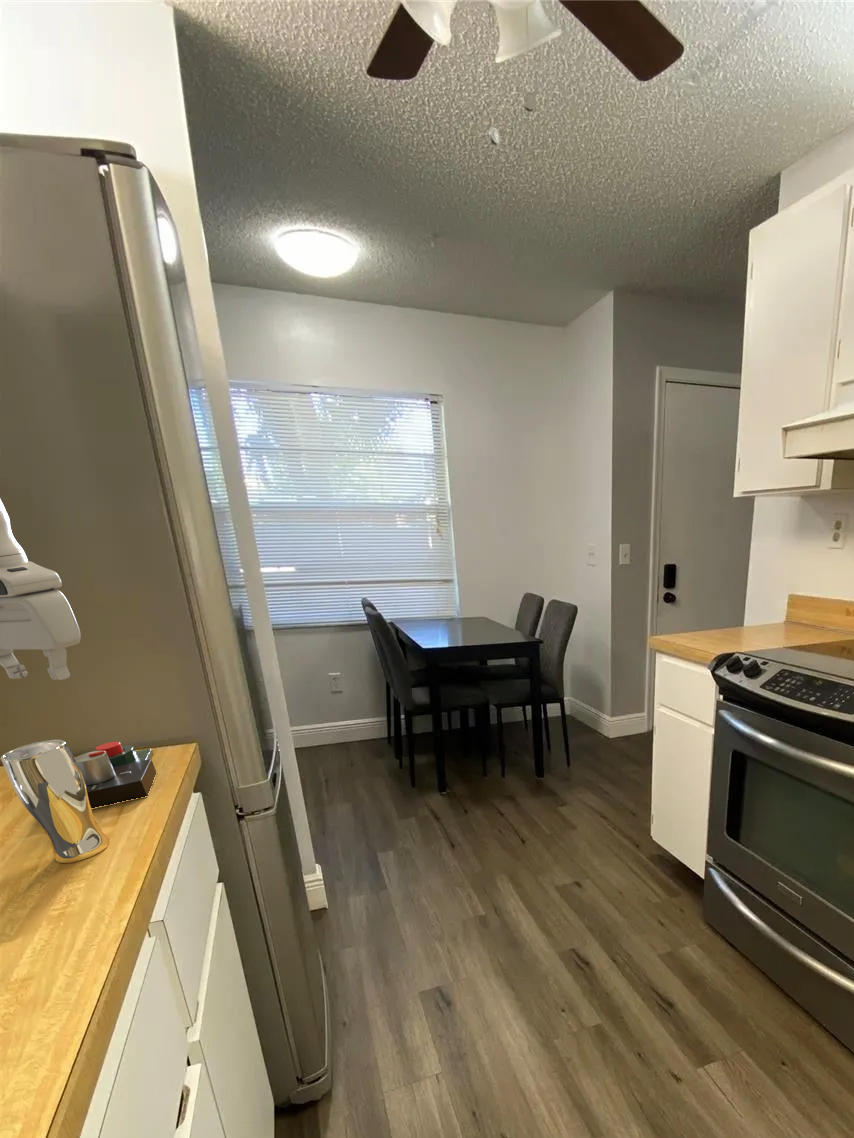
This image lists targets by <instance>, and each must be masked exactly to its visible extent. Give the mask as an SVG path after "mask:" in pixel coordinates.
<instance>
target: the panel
mask: <svg viewBox="0 0 854 1138" xmlns="http://www.w3.org/2000/svg"><path fill="white" fill-rule="evenodd" d="M113 769H114V771H115V774H116V775H115V776H114V777H113V778H112V779H110V780H107V781H105V782H102V783H98V784H93V785H86V787H87V791H88V795H89V800H90V804H91V808H95V807H99V806H104V805H110V804H114V803H117V802H122V801H126V800H131V799H136V798H141V797H145V796H148V797H149V795H148V793H149V791H150V788H151V786H152V783H153V780H154V777H155V775H156V772H157V770H156V767H155V765H154V764H153V762H152V760H151V759H148V760H143V761H139V762H134V763H129V764H125V765H120V766H115V767H113ZM152 787H153V786H152ZM151 789H152V788H151ZM150 792H151V791H150ZM149 794H150V793H149Z"/></svg>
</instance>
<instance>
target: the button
mask: <svg viewBox="0 0 854 1138" xmlns="http://www.w3.org/2000/svg"><path fill="white" fill-rule="evenodd" d="M122 746H123V745H122V744H121V742H120V741H110V742H106V743H102V744H100V745H98V746H96V747H95V751H106V753H107V755H108V757H110V756H114V755H117V754H120V753H121V752H123V748H122Z"/></svg>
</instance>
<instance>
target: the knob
mask: <svg viewBox="0 0 854 1138" xmlns="http://www.w3.org/2000/svg"><path fill="white" fill-rule="evenodd" d="M74 759H75V760H76V762H77V764H78V766H79V768H80V770H81V773H82V775H83V777H84V780H85V784H86V785H93V784H98V783H102V782H105V781H107V780H110V779H112V778H113V777H114V776H115V775H116V774H115V771H114V769H113V767H112V764H111V762H110V760H109V758H108V755H107V753H106V751H96V750H94V751H93V750H92V751H89V752H85V753H82V754H80V755H77V756H76V757H74Z"/></svg>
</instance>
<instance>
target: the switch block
mask: <svg viewBox="0 0 854 1138" xmlns="http://www.w3.org/2000/svg"><path fill="white" fill-rule="evenodd" d="M121 746H122V748H123V752H121V753H120V754H117V755H114V756H110V757H108V758H109V760H110V762H111V764H112V767H115V766H120V765H125V764H129V763H134V762H139V761H143V760H148V759H151V760H152V757H153V755H154V756H155V754H154V751H153V749H152V747H150V748H146V749H140V750H136V749H135V747H134V746H132V745H128V744H127V745H121Z"/></svg>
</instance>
